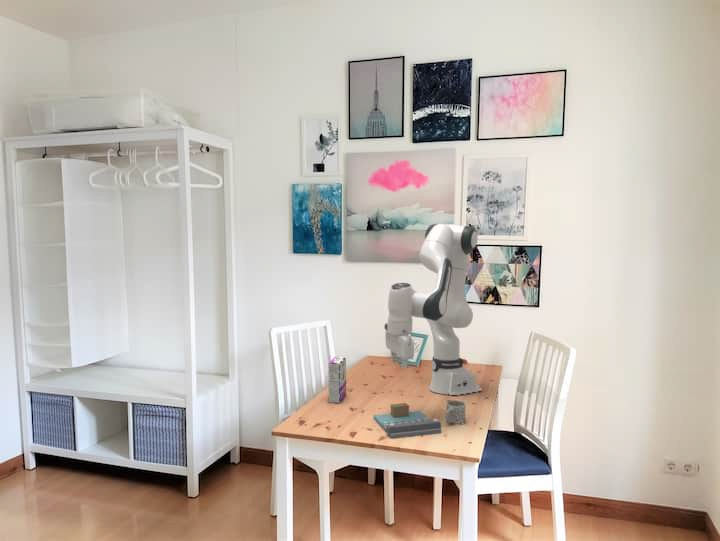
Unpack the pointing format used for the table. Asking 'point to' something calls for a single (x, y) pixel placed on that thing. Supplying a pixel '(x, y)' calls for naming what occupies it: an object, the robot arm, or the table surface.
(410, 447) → the table surface
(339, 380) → the candy bar box
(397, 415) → the teal flat block
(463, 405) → the mug
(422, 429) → the grey toy road piece
